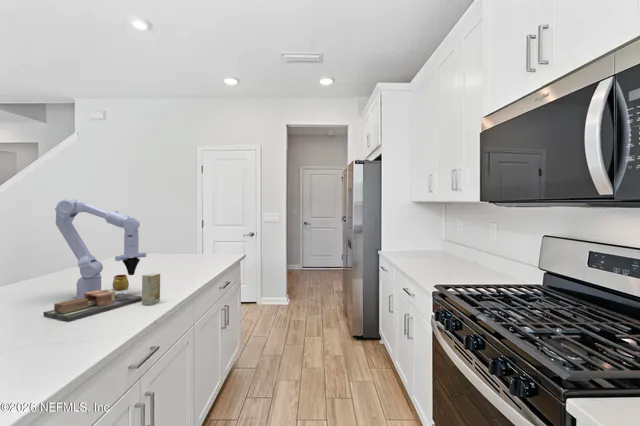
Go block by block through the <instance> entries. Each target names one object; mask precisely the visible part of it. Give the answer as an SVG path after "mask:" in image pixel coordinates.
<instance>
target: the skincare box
mask: <svg viewBox="0 0 640 426" xmlns="http://www.w3.org/2000/svg"><path fill="white" fill-rule="evenodd" d="M141 277H142V278H141V279H142V280H141V296H142V301H141V305H142V306H143V305H145V306H152V305H155V304H158V303H159V302H161V273H157V272H151V273H146V274H143V275H141Z"/></svg>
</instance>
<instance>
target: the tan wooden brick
mask: <svg viewBox="0 0 640 426" xmlns="http://www.w3.org/2000/svg"><path fill="white" fill-rule="evenodd" d="M100 291H104V292H110V293H112V301H115V295H116V291H114V290H112V289H111V290H110V289H101V290H100ZM94 304H97V299H96V300H92V301H88V299H83V298H73V299H68V300H65V301H60V302H57V303H54V304H53V305H54V307H53V310H54V312H57V313H62V314H64V313H68V312H72V311H76V310H79V309H83V308H87V307H88V306H90V305H94Z"/></svg>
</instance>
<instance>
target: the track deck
mask: <svg viewBox="0 0 640 426" xmlns="http://www.w3.org/2000/svg"><path fill="white" fill-rule="evenodd" d="M84 299H88V301H92V300H96V299H97V304H94V305H90V306H88V307H87V308H83V309H79V310H76V311H72V312H68V313H64V314H62V313H57V312H54V309H52V310H47V311H44V312H43V317H44V318H49V319H55V320H58V321H63V322H67V323H69V322H73V321H76V320H80V319H83V318H87V317H91V316H95V315H98V314H101V313H102V314H103V313H105V312H109V311H111V310H115V309H116V310H117V309H119V308H121V307H125V306H129V305H133V304H137V303H140V302H142V295H134V294H129V293H123V292H121V293H116V294H115V301H112V293H110V292H104V291H98V290H95V291H91V292H86V293H84Z"/></svg>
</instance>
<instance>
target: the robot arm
mask: <svg viewBox="0 0 640 426" xmlns="http://www.w3.org/2000/svg"><path fill="white" fill-rule="evenodd" d="M54 210H55V224H56V225H55V226H56V227H57V228H58V230H59V233H60V234H61V235H62V236H63V238H64V240H65V242H66V243H67V245H68V247H69V248H70V250H71V251H72V253H73V254H74V256H75V258H76V259H77V266H78V267H79V273H80V276H81V277H80V278H79V279H78V280H77V282H76V295H75V296H74V299H77V298H83V299H84V293H86V292H91V291H95V290H98V291H100V290H102V274H101V272H102V271H103V268H104V266H103V263H102V262H101V261H98V260H97V259H96V257H95V256H94V255H92V254H91V252H90V251H89V249H88V248H87V246H86V244H85V242H84V240H83V239H82V237H81V236H80V234H79V232H78V231H77V229H76V228H75V226H74V224H73V221H74V220H75V217H76V216H77V215H78V214H79V213H86V214H87V213H88V214H90V215H94V216H96V217H98V218H102V219H105V221H106V223H107V224H109V225H112V226H116V227H118V228H120V229H121V228H123V230H124V236H123V239H124V240H123V248H124V249H123V254H121V255H116V256H114V261H115V262H120V261H122V263H123V264H124V266H125V268H126V272H127V275H128V276H134V275H135V274H136V273H135V272H136V269H137V266H138V264H139V263H140V261H141V259H140V258H147V252H139V247H140V245H139V237H140V236H139V228H140V221H139V220H138V219H136V218H135V217H131V216H130V215H125V214H123V213H120V211H119V210H111V211H107V210H104V209H101V208H100V207H97V206H95V205H94V204H93V205H92V204H91V203H87V202H83V201H78V199H77V200H76V199H67V198H66V199H61V200H60V201H59V202H58V203H57V205H55V208H54Z"/></svg>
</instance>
